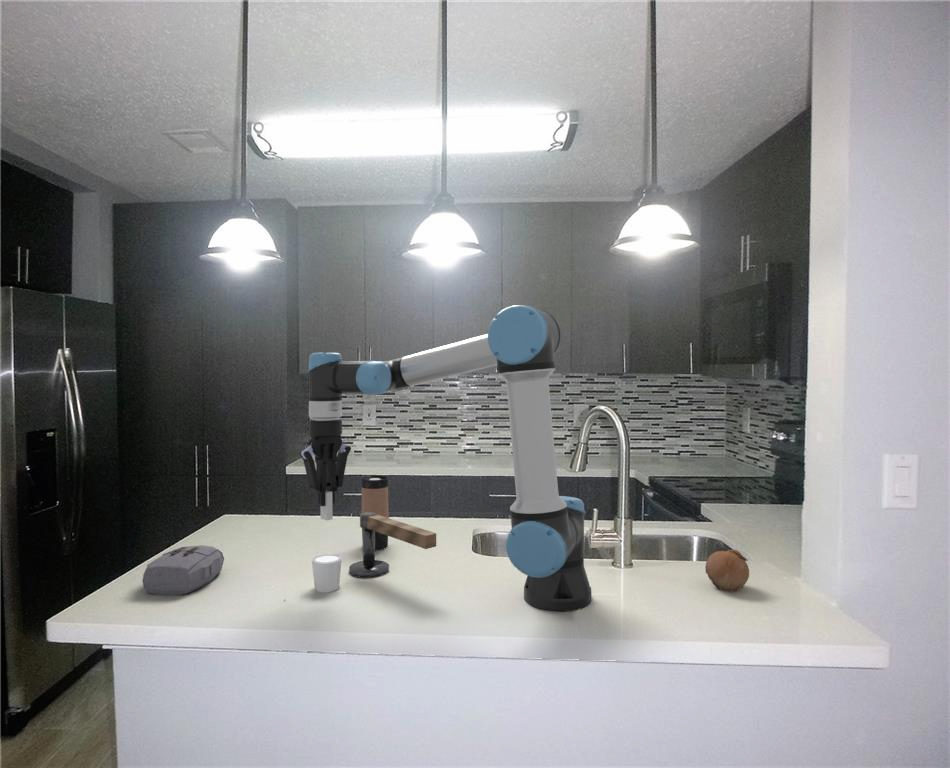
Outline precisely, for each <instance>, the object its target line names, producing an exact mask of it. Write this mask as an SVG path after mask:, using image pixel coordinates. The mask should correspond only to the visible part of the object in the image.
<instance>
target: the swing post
mask: <svg viewBox="0 0 950 768" xmlns="http://www.w3.org/2000/svg"><path fill="white" fill-rule="evenodd" d="M389 571H390V564H389V563H388V562H387V561H384V560H379V559H376V550H375V531H373V530H370V529H367V528H363V541H362V560H360V561H356V562H353V563H352V564H350V565H349V566H348V574H350V575H351V576H353V577H354V578H355V577H356V578H363V579H365V578H366V579H369V578H377V577H381V576H384V575H386V574H387V573H389Z"/></svg>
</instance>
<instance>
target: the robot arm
mask: <svg viewBox="0 0 950 768" xmlns="http://www.w3.org/2000/svg"><path fill="white" fill-rule="evenodd" d="M561 328H562V327H561V326H560V323H559V322H558V320H557V319H556V318H555V317H554V316H553V315H552V314H551V313H549V312H548V311H546V310H543V309H538V308H536V307H534V306H531V305H528V304H518V305H516V304H515V305H511V306H508V307H505V308H504V309H503V308H502V309H501V310H500V311H499V312H498V313H497V314H496V315H495V316H494V317H493V319H492V320H491V322H490V323H489V326H488V329H487V330H488V331H487V333H486V334H482V335H479V336H474V337H471V338H468V339H465V340H460V341H457V342H452V343H449V344H446V345H445V344H444V345H442V346H438V347H435V348H432V349H427V350H423V351H420V352H417V353H413V354H409V355H405V356H403V357H398V358H394V359H391V360H378V361H377V360H356V361H355V360H352V361H351V360H349V361H347V360H343V359H342V354H341V353H340V352H312V353H311V354H309V357H308V370H307V376H308V391H309V392H308V417H309V418H311V419H309V421H308V435H309V442H308V446H307V447H306V448H305V449H304V450H303V449H301V450H300V451H299V453H298V454H299V456H300V457H301V459H302V460H303V465H304V468H305V473H306V477H307V481H308V487H309V489H310V490H311V491H316V492H317V505H318V506H319V507H320V509H319V510H320V520H324V521H330V520H333V505H335V503H336V494H335V493H336V492H337V491H338V490H339V489H338V488H341V487H342V486H343V482H344V477H345V472H346V466H347V462H348V457H349V455H350V452H351V450H352V447H351V446H349V445H346V444H344V443H343V441H344V440H343V439H342V437H341V436H342V434H343V420H342V419H341V417H342V416H343V408H342V407H343V403H342V402H343V400H342V399H343V398H342V396H343V395H345V394H350V395H353V394H354V395H368V396H371V395H373V396H375V395H382V394H385V393H387V392H392V393H395V392H400V391H403V390H406V389H407V388H411V387H414V386H418V385H422V384H426V383H431V382H435V381H439V380H442V379H447V378H451V377H455V376H459V375H463V374H467V373H471V372H472V373H473V372H475V371H480V370H483V369H487V368H491V367H496V366H497V375H498V376H499V377H500V378H501V379H502V380H503V381H504V382H505V384H506V385H505V386H506V394H507V405H508V406H507V407H508V420H509V428H510V440H511V450H512V464H513V473H514V474H513V475H514V483H515V484H514V485H515V495H516V499H515V500H514V502H513V503H512V504H511V505H510V507H509V510H510V511H509V512H510V523H511V524H510V525H511V530H510V531H509V532H508V535H507V539H506V542H505V550H506V555H507V557H508V559H509V561H510V563H511V565H513V566H514V568H515V569H517V570H518V571H519V572H520V573H521V574H524V575H525V576H527V577H526V579H525V581H524V582H525V583H524V585H523V599H524V600H525V602H526V603H527V604H529V605H531V606H533V607H534V608H535V607H536V608H537V609H542V610H547V611H554V612H569V611H577V610H582V609H585V608H587V607H588V606H589V605H590V604H591V603H592V587H591V584H590V582H589V578H588V574H587V572H586V568H585V562H584V561H585V559H584V555H585V553H584V550H585V515H586V511H585V504H584V502H583V500H582V499H580V498H578V497H573V496H565V495H559V485H558V476H557V475H558V473H557V463H556V461H557V460H556V451H555V440H554V430H553V429H554V428H553V417H552V406H551V396H550V393H551V392H550V383H549V379H550V377H551V376H552V374H553V373H554V372H555V371H556V365H555V355H556V353H557V352H558V351H559V349H560V346H561V343H562V337H563V335H562V329H561ZM313 456H314V457H313Z"/></svg>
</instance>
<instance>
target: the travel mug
mask: <svg viewBox="0 0 950 768" xmlns="http://www.w3.org/2000/svg"><path fill="white" fill-rule="evenodd" d="M367 512H373V513H377V514H378V515H380V516H383V517H386V518H389V517H390V516H389V477H388V476H385V475H376V474H375V475H371V476H370V477H367V478H366V477H365V476H362V477H361V514H362V513H367ZM361 537H362V542H363V528H361ZM388 543H389V536H387V535H384V534H382V533H379V532H376V531H375V551H380V550H381V549H382V550H385V549H387V548H388V545H389V544H388ZM386 547H387V548H386ZM384 548H385V549H384ZM382 550H381V551H382Z"/></svg>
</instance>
